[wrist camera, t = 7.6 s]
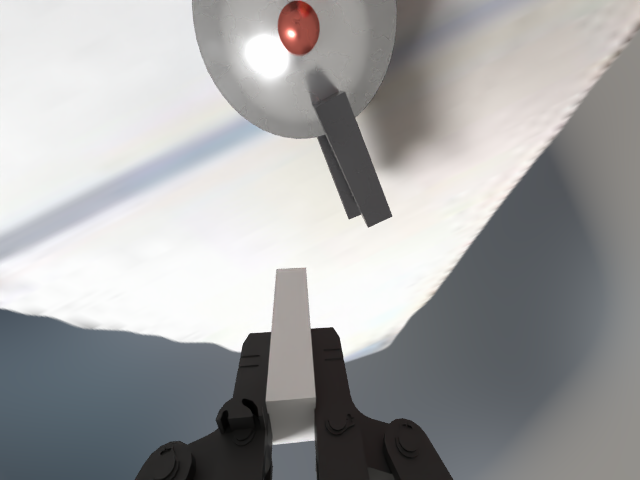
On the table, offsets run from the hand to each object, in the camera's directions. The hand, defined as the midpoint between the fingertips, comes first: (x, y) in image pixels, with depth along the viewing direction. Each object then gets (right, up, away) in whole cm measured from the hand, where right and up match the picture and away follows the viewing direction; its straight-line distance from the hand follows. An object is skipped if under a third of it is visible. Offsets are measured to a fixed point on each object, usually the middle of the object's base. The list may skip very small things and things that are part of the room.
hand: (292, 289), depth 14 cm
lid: (+2, +16, +10) cm, 19 cm away
